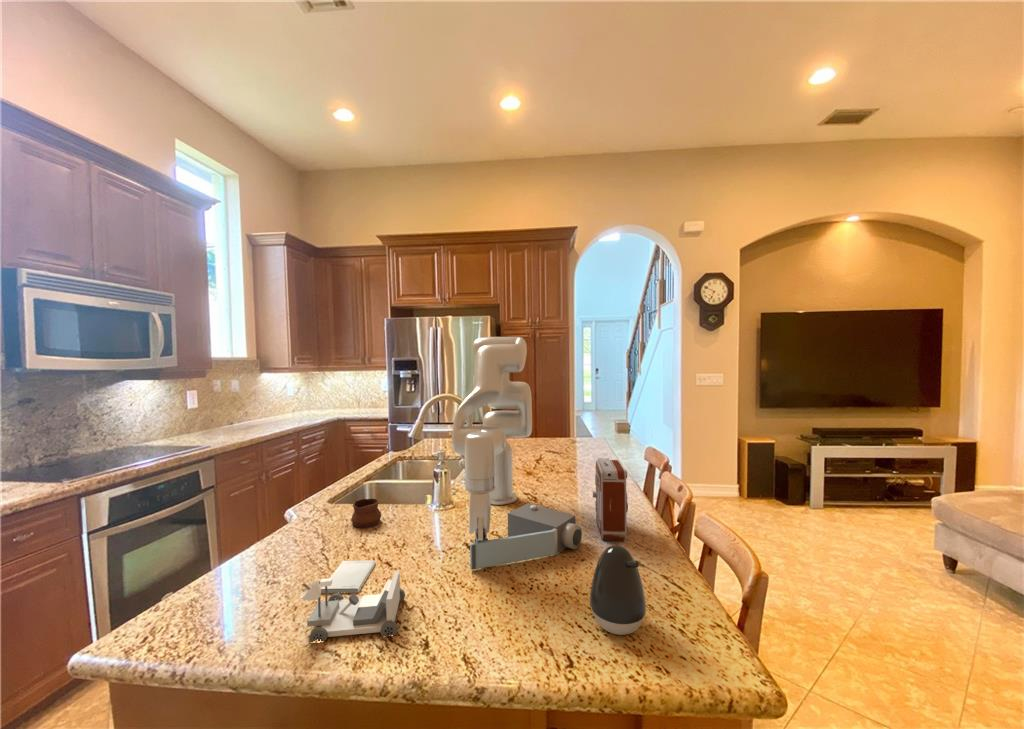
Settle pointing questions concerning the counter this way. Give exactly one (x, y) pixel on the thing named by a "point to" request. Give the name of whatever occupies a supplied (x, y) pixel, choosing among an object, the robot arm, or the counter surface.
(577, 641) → the counter surface
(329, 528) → the counter surface
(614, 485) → the cine camera
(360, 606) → the toy car
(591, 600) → the dark grey egg-shaped piece
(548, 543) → the side door
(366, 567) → the hard drive
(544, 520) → the block
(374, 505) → the ceramic pot
